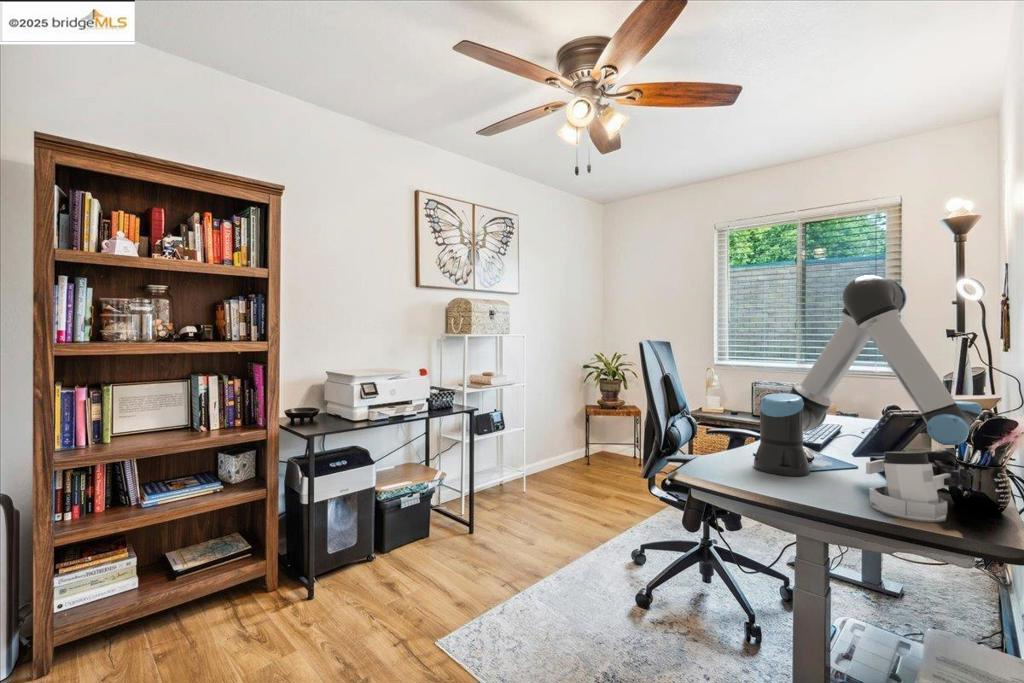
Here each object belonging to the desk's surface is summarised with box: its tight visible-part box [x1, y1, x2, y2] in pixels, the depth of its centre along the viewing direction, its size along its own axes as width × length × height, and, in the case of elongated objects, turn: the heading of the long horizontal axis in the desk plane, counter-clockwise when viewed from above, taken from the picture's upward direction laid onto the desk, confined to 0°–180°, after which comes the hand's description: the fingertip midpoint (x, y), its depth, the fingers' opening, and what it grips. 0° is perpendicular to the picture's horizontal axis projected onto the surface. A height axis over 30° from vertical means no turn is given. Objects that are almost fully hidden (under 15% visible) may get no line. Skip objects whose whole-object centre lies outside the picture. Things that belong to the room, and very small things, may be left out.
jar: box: [883, 451, 939, 504], centre depth 112 cm, size 9×8×12 cm
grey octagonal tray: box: [869, 484, 948, 523], centre depth 111 cm, size 14×14×4 cm
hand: (899, 475), depth 109 cm, fingers open, 12 cm apart
